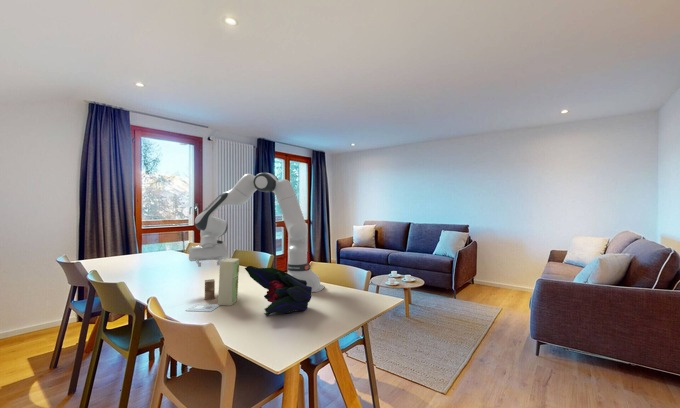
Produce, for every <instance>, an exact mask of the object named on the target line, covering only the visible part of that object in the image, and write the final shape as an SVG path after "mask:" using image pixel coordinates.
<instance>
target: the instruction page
mask: <svg viewBox="0 0 680 408" xmlns="http://www.w3.org/2000/svg"><path fill="white" fill-rule="evenodd" d="M220 306H221V305H218V303H217V304H216V303H215V304H213V303H212V304H211V303H196V304H195V305H193V306H190V307H189V308H188V309H186V310H185V312H203V313H204V312H207V313H211V312H213V311H214V310H216V309H217V308H218V307H220Z"/></svg>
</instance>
